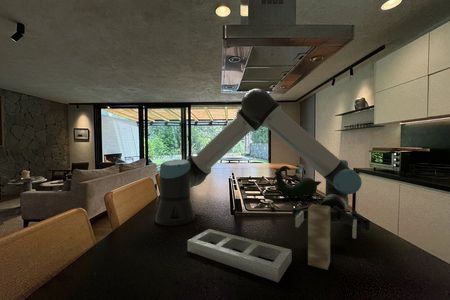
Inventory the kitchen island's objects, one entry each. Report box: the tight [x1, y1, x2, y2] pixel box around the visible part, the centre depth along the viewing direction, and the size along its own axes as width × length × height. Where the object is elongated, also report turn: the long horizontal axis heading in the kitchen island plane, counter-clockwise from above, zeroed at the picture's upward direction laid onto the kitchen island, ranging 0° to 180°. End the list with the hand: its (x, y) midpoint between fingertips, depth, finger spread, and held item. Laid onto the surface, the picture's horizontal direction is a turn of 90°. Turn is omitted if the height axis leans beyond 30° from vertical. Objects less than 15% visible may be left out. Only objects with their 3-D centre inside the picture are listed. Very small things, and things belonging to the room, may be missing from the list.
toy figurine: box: [274, 165, 322, 199], centre depth 122 cm, size 10×19×26 cm
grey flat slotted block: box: [186, 228, 293, 283], centre depth 58 cm, size 26×10×3 cm, turn 57°
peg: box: [307, 203, 331, 271], centre depth 55 cm, size 4×4×14 cm
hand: (323, 227), depth 57 cm, fingers open, 13 cm apart
